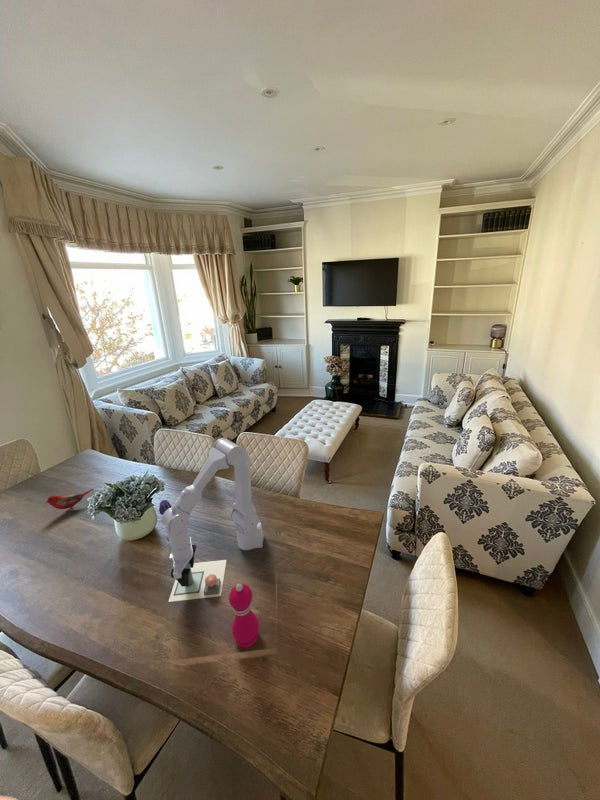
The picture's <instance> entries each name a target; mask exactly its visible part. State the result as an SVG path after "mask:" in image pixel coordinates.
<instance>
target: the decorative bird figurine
mask: <svg viewBox="0 0 600 800" xmlns="http://www.w3.org/2000/svg"><path fill="white" fill-rule="evenodd" d="M93 490H94V488H91V489H89V490H87V491H85V492H84V493H80V494H79V493H78V494H77V493H76V494H70V495H64V496H63V495H62V496H61V495H50V496H48V498H47V501H45V504H49V505H50V506H52V507H53V508H55V509H57V510H64V511H62V513H66V512H69V511H71V510H74V509H75V508H76V507H75V505H76V504H78V503H79V502H81V500H82V499H83V498H84V497H85V496H86V495H87V494H89V493H90V492H92V491H93Z"/></svg>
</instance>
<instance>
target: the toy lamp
mask: <svg viewBox="0 0 600 800" xmlns="http://www.w3.org/2000/svg"><path fill="white" fill-rule="evenodd" d="M172 506H173V505H171V503H170V501H169V500H167V499H163V500H161V501H160V502H159V509H158V512H159V514H160V515H162V516H163V514H164V512H165V511H166V510H167V509H169V508H171V507H172ZM167 539H168V538H167ZM168 541H169V539H168Z"/></svg>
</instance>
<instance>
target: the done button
mask: <svg viewBox="0 0 600 800" xmlns="http://www.w3.org/2000/svg"><path fill="white" fill-rule="evenodd" d="M216 583H217V577H216V575H214V574H211V575H209V576H207V577H206V579H205V584H206V586H207V587H213V586H214V585H215V584H216Z"/></svg>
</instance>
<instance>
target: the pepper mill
mask: <svg viewBox="0 0 600 800" xmlns="http://www.w3.org/2000/svg"><path fill="white" fill-rule="evenodd" d="M228 600H229V601H228V603H229V605H230V607H232V611H233V613H234V614H235V616H234V618H233V621H232V625H231V633H232V636H233V638H234V640H235V643H236V644H237V646H239V647H240V648H249V647H252V646H253V645H255V643H256V642H257V640H258V639H259V628H260V623H259V619H258V617H257V615H256V614H255V613H254V611H252V605H253V604H252V602H253V601H252V600H253V591H252V589H251V587H250V586H249V584H245V583H238V584H236V585H234V586H233V588H232V589H231V590H230V592H229V595H228Z"/></svg>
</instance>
